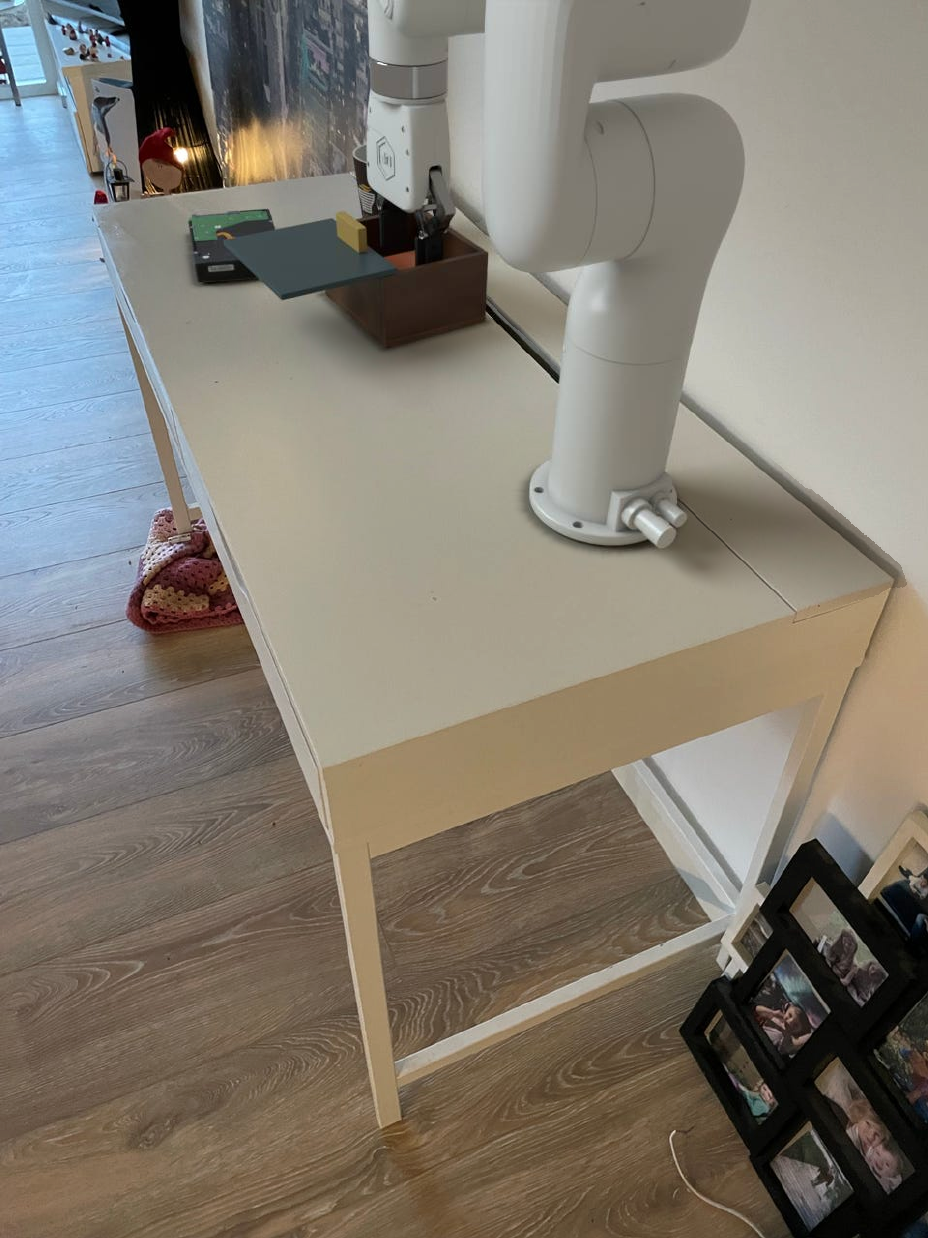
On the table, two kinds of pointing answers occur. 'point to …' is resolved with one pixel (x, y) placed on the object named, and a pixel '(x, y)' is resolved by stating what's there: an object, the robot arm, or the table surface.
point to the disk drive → (209, 242)
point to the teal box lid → (311, 256)
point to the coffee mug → (365, 183)
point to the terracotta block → (402, 260)
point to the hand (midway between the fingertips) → (411, 257)
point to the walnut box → (418, 290)
